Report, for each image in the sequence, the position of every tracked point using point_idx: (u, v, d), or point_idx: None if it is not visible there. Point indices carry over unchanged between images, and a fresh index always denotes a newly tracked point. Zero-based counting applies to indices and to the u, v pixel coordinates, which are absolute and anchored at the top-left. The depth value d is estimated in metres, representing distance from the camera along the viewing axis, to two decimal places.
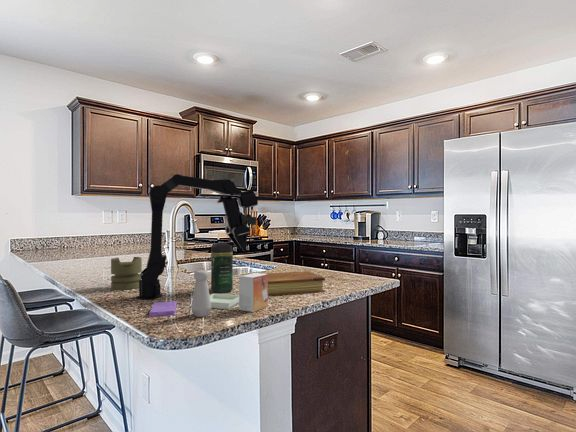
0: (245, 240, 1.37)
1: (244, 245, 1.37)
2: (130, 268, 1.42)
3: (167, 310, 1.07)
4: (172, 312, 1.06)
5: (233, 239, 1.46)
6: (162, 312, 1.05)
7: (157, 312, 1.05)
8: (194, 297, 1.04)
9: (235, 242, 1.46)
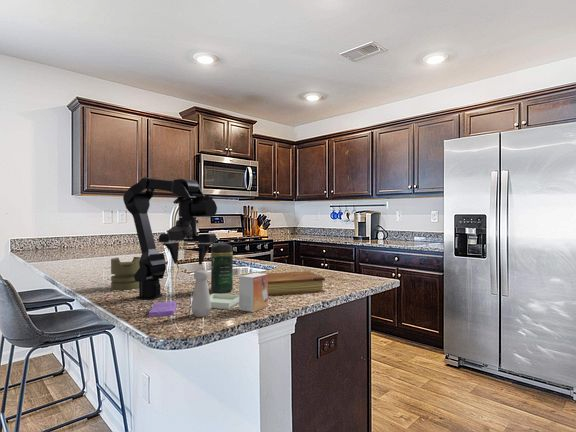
0: None
1: None
2: (130, 268, 1.42)
3: (166, 310, 1.06)
4: (171, 312, 1.06)
5: None
6: (161, 312, 1.05)
7: (156, 312, 1.05)
8: (194, 297, 1.04)
9: None
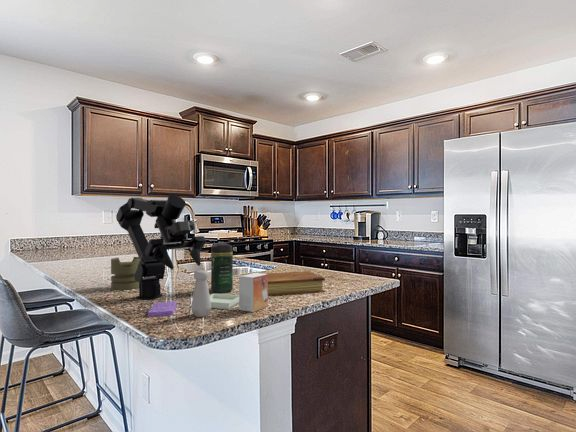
0: (164, 256, 1.09)
1: (167, 262, 1.09)
2: (130, 268, 1.42)
3: (165, 310, 1.06)
4: (170, 312, 1.06)
5: (193, 257, 1.18)
6: (160, 312, 1.05)
7: (155, 312, 1.05)
8: (194, 297, 1.04)
9: (194, 259, 1.17)
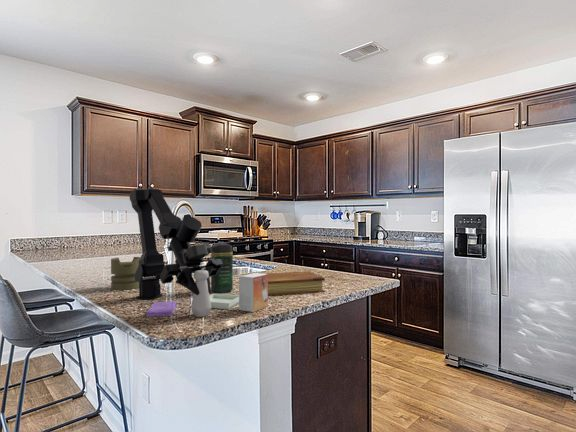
0: (189, 281, 1.04)
1: (192, 287, 1.04)
2: (130, 268, 1.42)
3: (164, 310, 1.06)
4: (169, 312, 1.06)
5: None
6: (159, 312, 1.05)
7: (154, 312, 1.05)
8: (194, 297, 1.04)
9: None
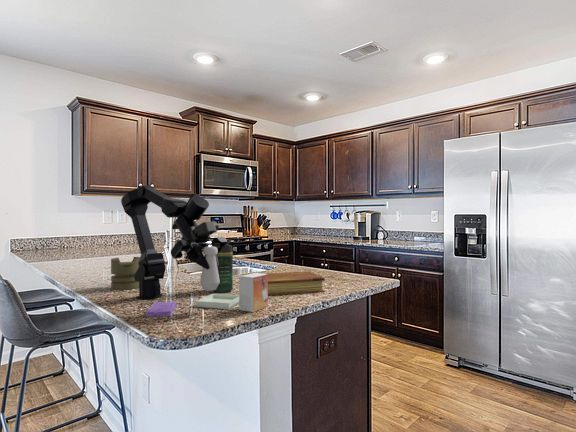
0: (200, 256, 1.08)
1: (203, 262, 1.08)
2: (130, 268, 1.42)
3: (163, 310, 1.06)
4: (168, 312, 1.05)
5: None
6: (158, 312, 1.05)
7: (153, 312, 1.05)
8: (204, 272, 1.08)
9: None
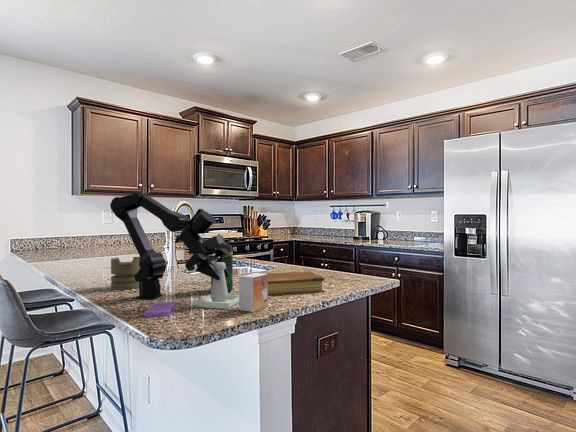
0: (210, 268, 1.16)
1: (213, 274, 1.16)
2: (130, 268, 1.42)
3: (162, 310, 1.06)
4: (166, 312, 1.05)
5: None
6: (157, 312, 1.05)
7: (152, 312, 1.05)
8: (215, 286, 1.17)
9: None
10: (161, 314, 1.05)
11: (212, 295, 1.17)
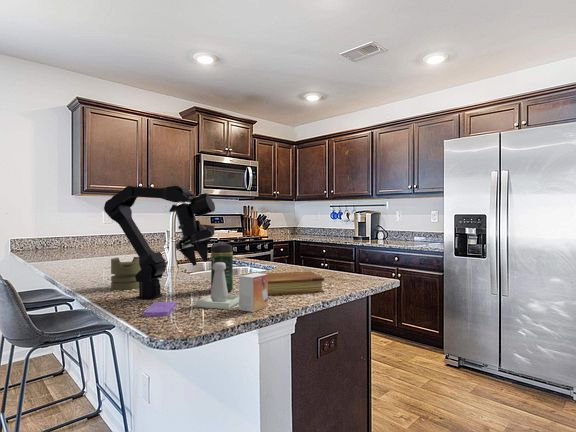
0: (206, 248, 1.22)
1: (205, 254, 1.21)
2: (130, 268, 1.42)
3: (161, 311, 1.06)
4: (165, 313, 1.05)
5: (187, 254, 1.28)
6: (155, 312, 1.05)
7: (150, 312, 1.05)
8: (215, 286, 1.17)
9: (190, 257, 1.28)
10: (160, 314, 1.05)
11: (212, 295, 1.17)
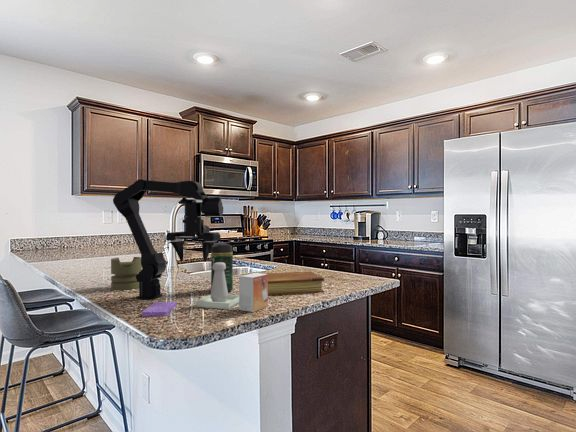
0: (209, 249, 1.27)
1: (207, 254, 1.26)
2: (130, 268, 1.42)
3: (159, 310, 1.06)
4: (164, 313, 1.05)
5: (179, 248, 1.28)
6: (154, 312, 1.05)
7: (149, 312, 1.05)
8: (215, 286, 1.17)
9: (180, 252, 1.28)
10: (158, 314, 1.05)
11: (212, 295, 1.17)
